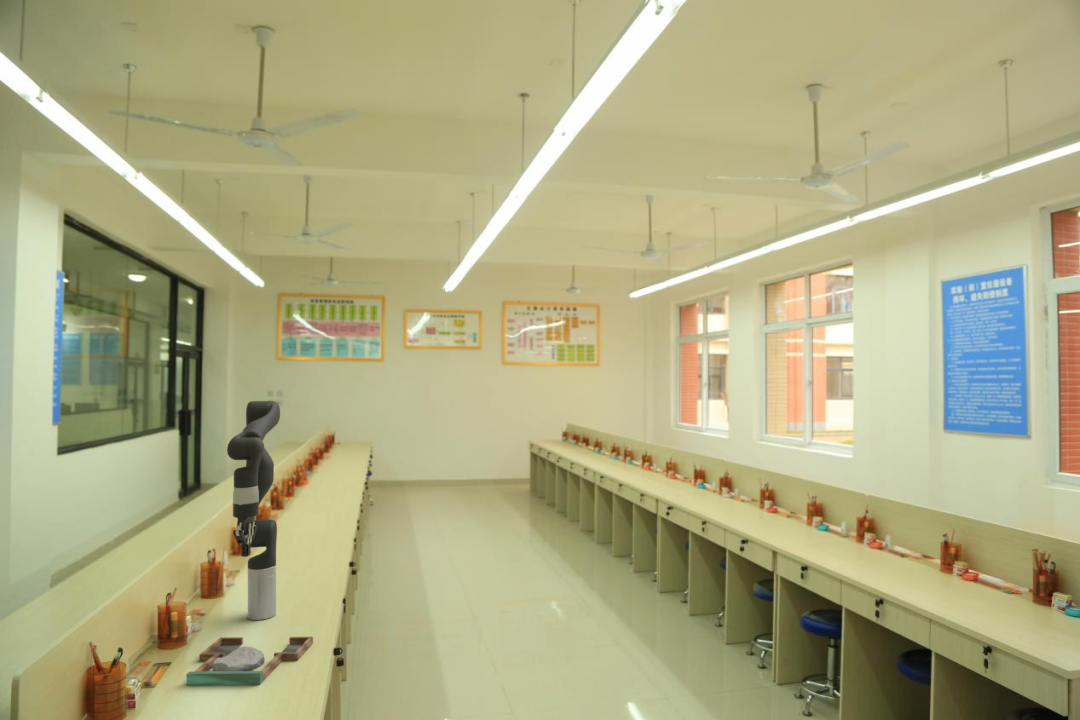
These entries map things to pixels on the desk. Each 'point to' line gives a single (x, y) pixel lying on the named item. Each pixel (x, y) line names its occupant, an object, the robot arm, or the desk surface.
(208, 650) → the trap lane
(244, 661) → the stone block
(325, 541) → the desk surface
